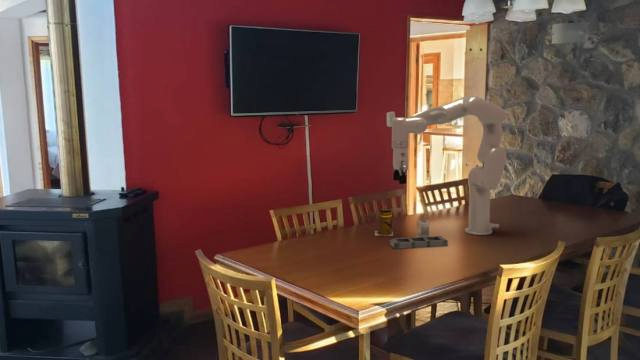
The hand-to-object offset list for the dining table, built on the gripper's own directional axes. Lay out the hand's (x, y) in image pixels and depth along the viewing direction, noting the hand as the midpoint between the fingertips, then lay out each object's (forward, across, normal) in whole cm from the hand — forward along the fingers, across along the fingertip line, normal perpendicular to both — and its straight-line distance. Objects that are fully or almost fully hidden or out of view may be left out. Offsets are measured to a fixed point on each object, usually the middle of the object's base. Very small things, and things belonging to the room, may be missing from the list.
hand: (399, 182), depth 260 cm
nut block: (+26, -3, -11) cm, 29 cm away
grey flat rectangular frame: (+26, -14, -5) cm, 30 cm away
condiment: (+26, +8, +5) cm, 28 cm away
